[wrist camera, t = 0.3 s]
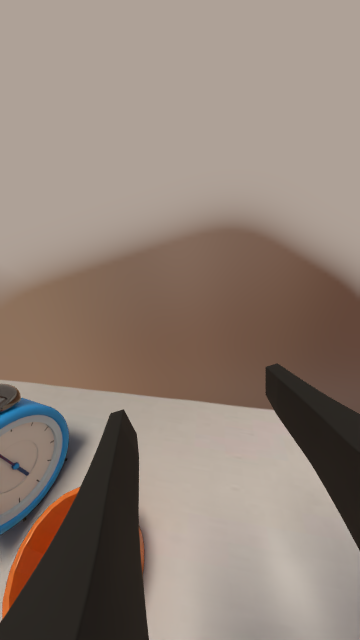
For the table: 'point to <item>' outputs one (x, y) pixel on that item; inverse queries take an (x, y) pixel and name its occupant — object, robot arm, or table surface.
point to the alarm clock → (27, 454)
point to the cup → (40, 547)
